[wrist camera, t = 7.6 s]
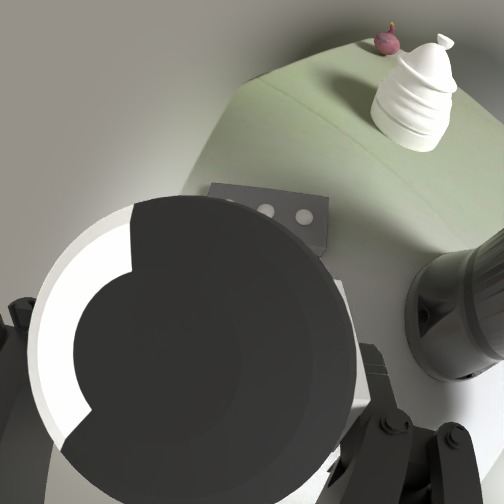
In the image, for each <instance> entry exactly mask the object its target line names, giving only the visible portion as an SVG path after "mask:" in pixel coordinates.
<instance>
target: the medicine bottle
mask: <svg viewBox="0 0 504 504" xmlns="http://www.w3.org/2000/svg"><path fill="white" fill-rule="evenodd" d="M27 356H28V371H29V378H30V383H31V388H32V393H33V396H34V400H35V403H36V406H37V409H38V412H39V414H40V416H41V419H42V421H43V423H44V425H45V427H46V429H47V431H48V433H49V435H50V436H51V438H52V439H53V441H54V443H55V444H56V445H57V447H58V449H59V450H60V452H61V453H62V454H63V455H64V456H65V458H66V459H67V460H68V461H69V462H70V463H71V465H72V466H73V467H74V468H75V469H76V470H77V471H78V472H79V473H80V474H81V475H82V476H83V477H85V478H86V479H87V480H88V481H89V482H90V483H92V484H93V485H94V486H96V487H97V488H99V489H100V490H101V491H103V492H104V493H106V494H107V495H109V496H110V497H112V498H114V499H116V500H118V501H120V502H122V503H124V504H275V503H277V502H279V501H280V500H282V499H284V498H285V497H286V496H288V495H289V494H291V493H292V492H294V491H295V490H297V489H298V488H299V487H301V486H302V485H303V484H304V483H305V482H306V481H307V480H308V479H309V478H310V477H311V476H312V475H313V474H314V473H315V472H316V471H317V470H318V469H319V468H320V467H321V465H322V464H323V463H324V461H325V460H326V459H327V457H328V456H329V455H330V453H331V452H332V450H333V449H334V447H335V445H336V444H337V442H338V440H339V438H340V436H341V434H342V432H343V430H344V428H345V426H346V423H347V420H348V416H349V413H350V410H351V407H352V404H353V399H354V393H355V386H356V379H357V351H356V344H355V338H354V332H353V327H352V323H351V320H350V317H349V314H348V311H347V308H346V305H345V302H344V299H343V297H342V295H341V293H340V292H339V290H338V288H337V286H336V282H335V281H334V280H333V278H332V276H331V275H330V274H329V272H328V271H327V269H326V268H325V267H324V265H323V264H322V262H321V261H320V260H319V258H318V257H317V256H316V255H315V254H314V253H313V252H312V251H311V250H310V248H309V247H308V246H307V245H306V244H305V243H304V242H303V241H302V240H301V239H300V238H298V237H297V236H296V235H295V234H293V233H292V232H291V231H290V230H288V229H287V228H286V227H285V226H283V225H282V224H280V223H278V222H277V221H275V220H273V219H272V218H270V217H268V216H267V215H265V214H263V213H261V212H259V211H256V210H254V209H252V208H249V207H247V206H245V205H242V204H239V203H235V202H232V201H228V200H224V199H220V198H213V197H206V196H185V195H179V196H171V197H162V198H156V199H151V200H148V201H143V202H139V203H136V204H133V205H130V206H127V207H125V208H122V209H120V210H118V211H115V212H113V213H111V214H110V215H108V216H106V217H104V218H102V219H101V220H99V221H97V222H96V223H95V224H93V225H92V226H91V227H89V228H88V229H87V230H85V231H84V232H83V233H82V234H81V235H79V236H78V237H77V238H76V239H75V240H74V241H73V242H72V243H71V244H70V245H69V246H68V247H67V249H66V250H65V251H64V252H63V253H62V255H61V256H60V257H59V258H58V259H57V261H56V262H55V264H54V266H53V267H52V269H51V270H50V272H49V273H48V275H47V277H46V279H45V281H44V283H43V285H42V287H41V289H40V292H39V294H38V297H37V300H36V303H35V306H34V309H33V312H32V317H31V322H30V327H29V334H28V350H27Z"/></svg>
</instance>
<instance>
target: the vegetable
mask: <svg viewBox="0 0 504 504" xmlns="http://www.w3.org/2000/svg"><path fill="white" fill-rule="evenodd" d="M391 23H392V22H391ZM374 43H375V46H376V48H377V49H378V50H379V51H380V53H382V55H384V56H385V55H392V54H395V53H397V52H398V50H399V49H400V44H399V41H398V40H397V38H396V37H395V36H394V25H393V23H392V24H391V26H390V30H389V31H388V32H384V33H379V34H378V35H376V37H375V39H374Z"/></svg>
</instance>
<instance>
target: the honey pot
mask: <svg viewBox="0 0 504 504" xmlns="http://www.w3.org/2000/svg"><path fill="white" fill-rule="evenodd" d="M437 40H438V44H439V45H438V44H435V43H427V44H424V45H421V46H419V47H418V48H416V49H415V50H413V51H412V52H410V53H407V52H403V53H400V54H398V56H397V62H398V65H397V66H396V67H395V68H393V69H392V70H391V71H390V73H389V74H388V75H387V76H386V78H385V79H384V80H382V81H381V83H380V84H379V86H378V90H377V93H376V94H375V97H374V100H373V103H372V106H371V113H370V114H371V117H372V120H373V121H374V123H375V124H376V126H377V127H378V128H379V129H380V130H381V131H382V132H383V134H385V135H386V136H387V137H389V138H390V139H391V140H392V141H394V142H396V143H398V144H399V145H401V146H403V147H406V148H408V149H411V150H415V151H419V152H427V151H430V150H433V149H434V148H435V147H436V145H437V144H438V142H439V140H440V139H441V137H442V135H443V134H444V132H445V130H446V128H447V127H448V124H449V115H450V108H451V106H452V101H451V93H453V92H455V91H456V88H457V85H456V83H455V81H454V79H453V78H452V73H451V66H450V62H449V58H448V56H447V54H446V52H445V50H446V49H450V48H451V47H452V46H453V44H454V42H453V41H452V40H450V39H449V38H447V37H445V36H443V35H441V34H438V39H437Z"/></svg>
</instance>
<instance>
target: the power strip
mask: <svg viewBox="0 0 504 504" xmlns="http://www.w3.org/2000/svg"><path fill="white" fill-rule="evenodd" d="M207 197H213V198H220V199H224V200H228V201H232V202H235V203H239V204H242V205H245V206H247V207H249V208H252V209H254V210H256V211H259V212H261V213H263V214H265V215H267V216H268V217H270V218H272V219H273V220H275V221H277V222H278V223H280V224H282V225H283V226H285V227H286V228H287V229H288V230H290V231H291V232H292V233H293V234H295V235H296V236H297V237H298V238H300V239H301V240H302V241H303V242H304V243H305V244H306V245H307V246H308V247H309V248H310V250H311V251H312V252H313V253H314V254H315V255H316V256H318V257H322V255H323V253H324V251H325V249H326V245H327V227H328V202H329V198H328V197H322V196H316V195H309V194H302V193H295V192H288V191H281V190H274V189H266V188H258V187H249V186H240V185H231V184H221V183H211V186H210V189H209V193H208V196H207Z"/></svg>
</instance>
